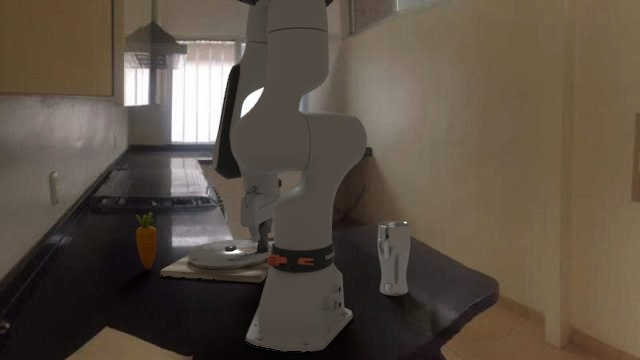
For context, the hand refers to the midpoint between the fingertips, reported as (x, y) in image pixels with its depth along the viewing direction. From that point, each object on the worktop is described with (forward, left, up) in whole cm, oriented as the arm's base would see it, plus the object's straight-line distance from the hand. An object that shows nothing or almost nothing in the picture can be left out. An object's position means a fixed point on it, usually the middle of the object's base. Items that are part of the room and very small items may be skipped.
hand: (262, 236), depth 123 cm
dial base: (0, +9, -8) cm, 12 cm away
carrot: (-9, +28, -8) cm, 30 cm away
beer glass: (-13, -35, -8) cm, 38 cm away
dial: (0, +9, -6) cm, 11 cm away
